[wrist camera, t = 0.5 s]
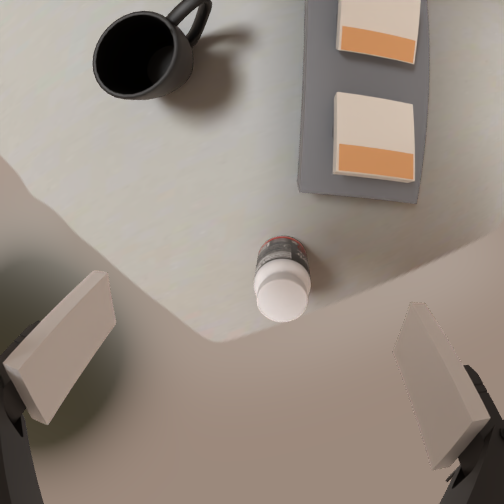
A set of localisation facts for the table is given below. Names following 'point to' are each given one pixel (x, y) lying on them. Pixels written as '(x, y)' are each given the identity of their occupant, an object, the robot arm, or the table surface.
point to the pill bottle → (282, 279)
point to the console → (361, 83)
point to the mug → (148, 52)
